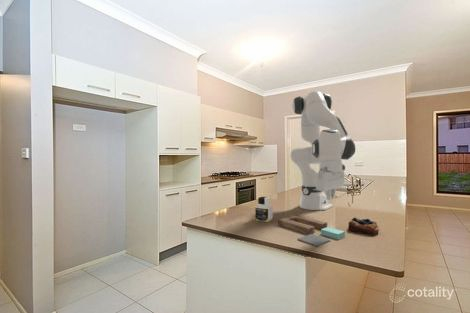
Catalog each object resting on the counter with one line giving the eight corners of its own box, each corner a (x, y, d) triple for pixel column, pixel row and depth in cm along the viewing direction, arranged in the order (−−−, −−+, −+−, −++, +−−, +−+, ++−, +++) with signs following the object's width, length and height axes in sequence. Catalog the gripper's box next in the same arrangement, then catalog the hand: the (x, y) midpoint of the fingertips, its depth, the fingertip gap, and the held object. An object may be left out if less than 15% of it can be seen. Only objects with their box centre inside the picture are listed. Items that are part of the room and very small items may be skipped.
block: (327, 232, 106) (327, 227, 106) (344, 237, 100) (344, 231, 100) (320, 235, 103) (320, 229, 103) (338, 240, 97) (338, 234, 97)
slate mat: (311, 235, 103) (311, 233, 103) (330, 241, 95) (330, 239, 95) (297, 239, 97) (297, 238, 97) (317, 246, 90) (317, 245, 90)
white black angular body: (255, 220, 126) (255, 197, 125) (260, 217, 132) (260, 195, 132) (268, 222, 122) (267, 199, 122) (272, 218, 129) (272, 196, 128)
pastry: (352, 225, 116) (351, 213, 116) (380, 230, 108) (380, 217, 108) (346, 231, 107) (346, 218, 107) (376, 237, 100) (376, 223, 100)
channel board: (296, 219, 126) (296, 214, 126) (327, 227, 112) (327, 222, 112) (278, 224, 118) (278, 219, 118) (309, 234, 103) (309, 228, 103)
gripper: (326, 168, 92) (327, 203, 92) (346, 166, 107) (347, 196, 107) (311, 167, 97) (311, 201, 97) (332, 165, 111) (333, 195, 111)
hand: (330, 199), depth 102 cm, fingers closed
